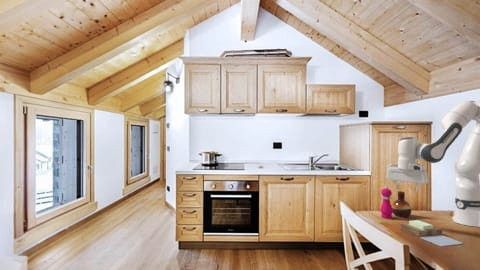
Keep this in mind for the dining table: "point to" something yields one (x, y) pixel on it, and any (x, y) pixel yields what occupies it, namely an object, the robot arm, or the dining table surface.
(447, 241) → the mat
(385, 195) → the pepper mill
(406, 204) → the vase
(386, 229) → the dining table surface
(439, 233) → the deck
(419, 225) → the pale green flat block
